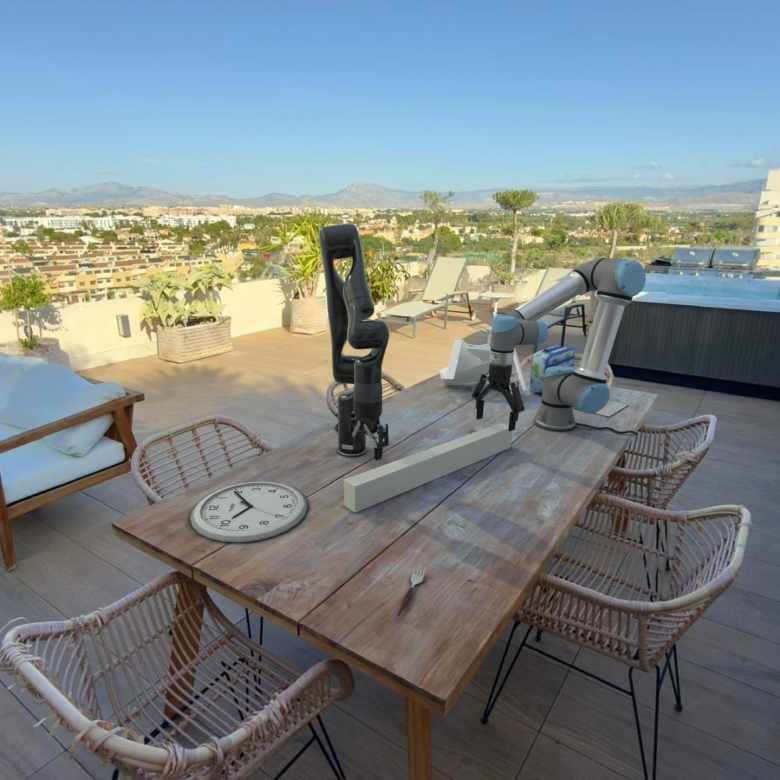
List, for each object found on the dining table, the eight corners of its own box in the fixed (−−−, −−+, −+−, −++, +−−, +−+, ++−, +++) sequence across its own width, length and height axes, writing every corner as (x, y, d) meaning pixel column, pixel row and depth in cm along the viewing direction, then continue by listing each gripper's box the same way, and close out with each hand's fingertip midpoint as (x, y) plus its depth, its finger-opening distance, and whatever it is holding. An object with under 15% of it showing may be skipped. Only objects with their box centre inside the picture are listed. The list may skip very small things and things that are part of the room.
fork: (391, 616, 102) (391, 608, 102) (415, 569, 116) (416, 561, 116) (404, 620, 101) (404, 611, 101) (426, 571, 116) (427, 564, 115)
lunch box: (546, 399, 235) (551, 353, 228) (525, 393, 242) (530, 349, 236) (574, 387, 252) (579, 345, 246) (553, 383, 260) (558, 341, 253)
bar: (499, 443, 186) (500, 422, 184) (510, 447, 182) (512, 426, 180) (343, 505, 143) (343, 479, 140) (355, 512, 139) (354, 486, 137)
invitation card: (608, 416, 214) (573, 407, 224) (608, 416, 214) (573, 408, 224) (628, 404, 229) (594, 396, 238) (628, 405, 229) (594, 397, 238)
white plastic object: (461, 429, 252) (437, 405, 227) (444, 352, 274) (420, 323, 250) (535, 404, 240) (518, 377, 215) (510, 326, 262) (492, 293, 237)
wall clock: (302, 534, 126) (174, 538, 123) (303, 540, 126) (175, 544, 124) (310, 477, 154) (206, 479, 152) (310, 482, 155) (206, 484, 152)
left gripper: (340, 393, 139) (340, 449, 143) (374, 407, 128) (373, 467, 133) (362, 388, 143) (362, 442, 148) (396, 401, 133) (395, 459, 138)
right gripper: (464, 357, 178) (460, 416, 184) (526, 373, 160) (519, 438, 166) (478, 354, 182) (473, 412, 189) (540, 370, 165) (532, 432, 171)
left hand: (367, 454), depth 141 cm, fingers open, 8 cm apart
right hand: (495, 424), depth 177 cm, fingers open, 13 cm apart
